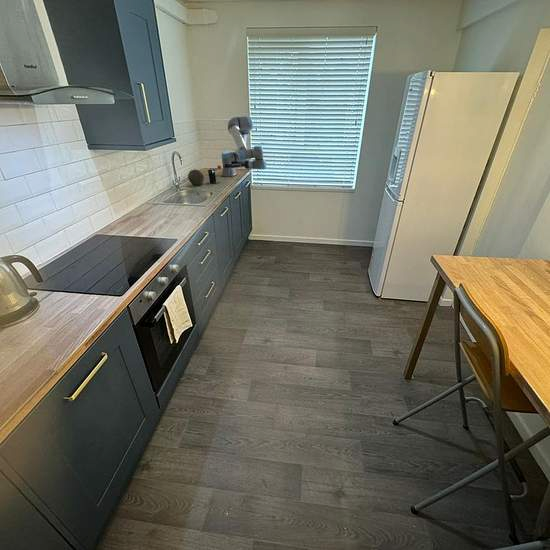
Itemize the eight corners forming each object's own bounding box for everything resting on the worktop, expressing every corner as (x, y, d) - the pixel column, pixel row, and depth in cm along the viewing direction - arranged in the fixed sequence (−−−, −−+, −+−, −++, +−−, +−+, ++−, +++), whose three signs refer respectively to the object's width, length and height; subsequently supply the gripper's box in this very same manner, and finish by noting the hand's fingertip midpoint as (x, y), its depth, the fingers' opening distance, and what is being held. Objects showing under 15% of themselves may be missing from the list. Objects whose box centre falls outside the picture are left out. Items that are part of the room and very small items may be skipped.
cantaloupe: (189, 184, 284) (186, 168, 276) (204, 183, 286) (201, 167, 278) (189, 188, 272) (186, 172, 264) (205, 187, 275) (202, 170, 267)
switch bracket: (220, 182, 287) (218, 168, 280) (216, 184, 280) (214, 170, 273) (210, 182, 290) (208, 168, 283) (206, 184, 283) (203, 170, 276)
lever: (222, 167, 275) (220, 164, 274) (220, 168, 272) (219, 164, 271) (212, 173, 281) (210, 169, 280) (210, 174, 279) (208, 170, 277)
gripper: (244, 171, 256) (222, 171, 262) (254, 166, 276) (234, 165, 282) (243, 162, 252) (221, 162, 258) (254, 157, 272) (233, 157, 278)
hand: (228, 164), depth 270 cm, fingers open, 13 cm apart
